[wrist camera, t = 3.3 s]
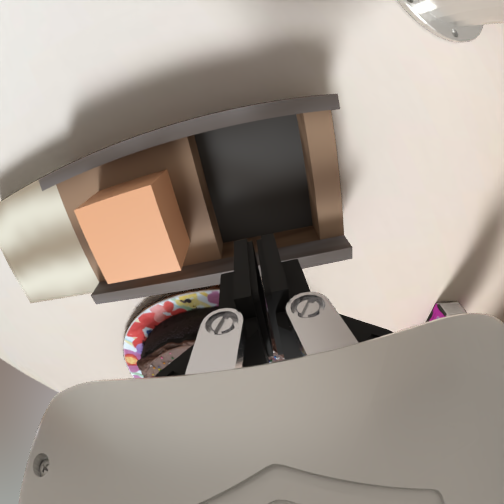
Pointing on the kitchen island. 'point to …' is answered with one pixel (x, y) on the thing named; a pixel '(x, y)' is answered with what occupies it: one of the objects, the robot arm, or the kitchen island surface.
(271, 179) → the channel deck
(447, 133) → the kitchen island surface
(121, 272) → the block
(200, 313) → the chocolate cake
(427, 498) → the robot arm
